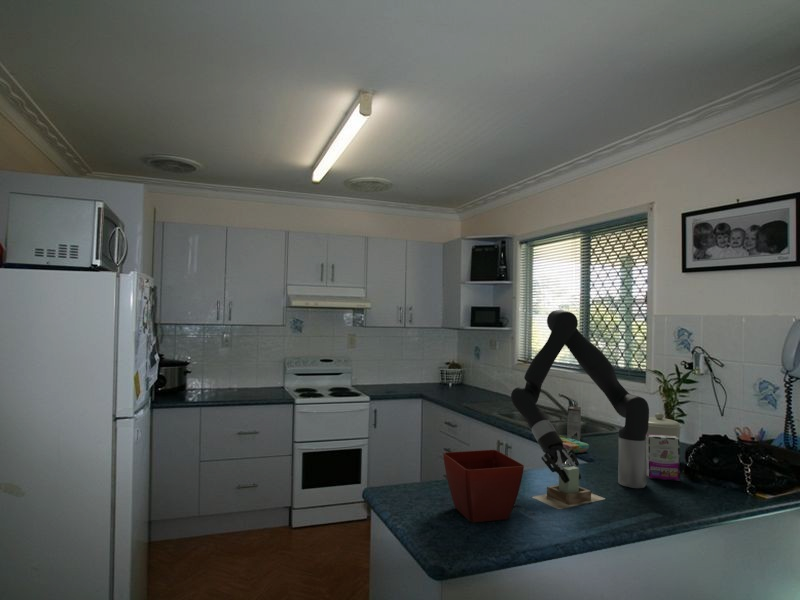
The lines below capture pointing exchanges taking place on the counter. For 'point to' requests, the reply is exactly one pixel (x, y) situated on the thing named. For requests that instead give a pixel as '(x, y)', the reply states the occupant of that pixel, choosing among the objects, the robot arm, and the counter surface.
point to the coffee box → (574, 423)
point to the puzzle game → (574, 445)
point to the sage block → (574, 480)
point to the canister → (663, 426)
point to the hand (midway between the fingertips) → (573, 480)
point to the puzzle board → (567, 497)
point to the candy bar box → (663, 457)
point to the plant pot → (483, 483)
